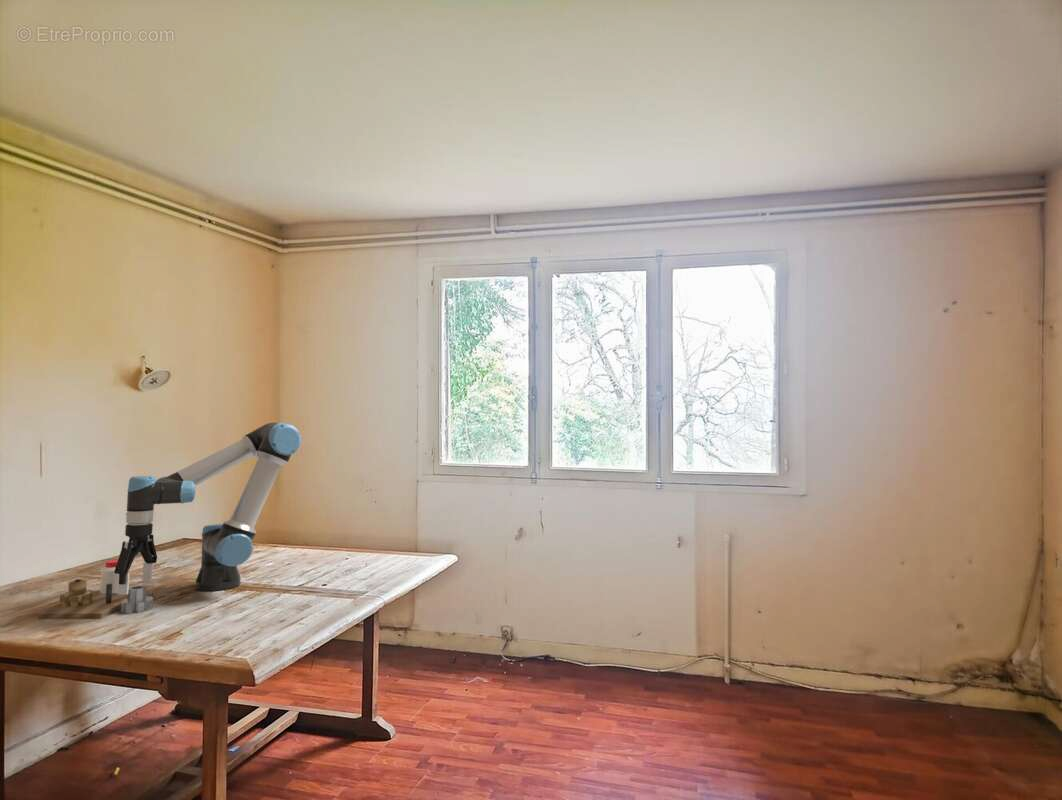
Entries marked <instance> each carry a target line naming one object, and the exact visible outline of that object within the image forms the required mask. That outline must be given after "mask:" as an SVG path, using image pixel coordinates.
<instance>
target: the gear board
mask: <svg viewBox="0 0 1062 800" xmlns="http://www.w3.org/2000/svg"><path fill="white" fill-rule="evenodd" d="M87 585H88V583H87V579H81V578H76V579H74V580H70V581H68V588H67V589H68V591H67V592H65V593H63V594H60V595H59V604H57V605H55V606H52V607H50V608H48V609H46V610H42V611H40V612H38V613H37V619H103V618H105V617H107V616H109V615H110V614H113V613H114V612H116V611H118V610H120V602H121V601H122V600H124V599H128V594H127V595H124V594H118V593H112V584H107V585H106V593H100V592H97V593H96V592H95V591H94V590H91V589H87Z"/></svg>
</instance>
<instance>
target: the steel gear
mask: <svg viewBox="0 0 1062 800" xmlns="http://www.w3.org/2000/svg"><path fill="white" fill-rule="evenodd" d="M153 599H154V597H152V596H148V595H147V586H146V585H136V586H135V585H134V586H129V590H128V599H124V600H122V601H121V602H120V609H119V612H120V613H121V614H122V613H125V614H133V613H137V614H138V613H142V612H145V611H149V610H152V608H153V604H154V603H153V602H154V601H153Z"/></svg>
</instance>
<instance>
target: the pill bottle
mask: <svg viewBox="0 0 1062 800" xmlns="http://www.w3.org/2000/svg"><path fill="white" fill-rule="evenodd" d="M118 559H119V558H118ZM118 559H110V560H106V561H105V562H104V566H103V567H102V568H101V570H100V584H99V585H100V588H99V591H100V592H99V593H106V585H107V584H112V593H118V586H119V574H115V572H114V571H115V568H116V565H117V562H118Z"/></svg>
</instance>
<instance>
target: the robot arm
mask: <svg viewBox="0 0 1062 800" xmlns="http://www.w3.org/2000/svg"><path fill="white" fill-rule="evenodd" d="M301 444H302V436H301V432H300V431H299V429H297V427H295V426H294V425H292V424H289V423H285V422H269V423H265V424H263V425H261V426H260V427H258V428H255V429H254V430H252V431H251V432H249V433H246V434H245V435H243V436H242V439H240V440H239V441H236V442H234V443H232V444H230V445H228V446H227V447H225V448H222V449H220V450H218V451H216V452H214V453H212V454H210V455H208V456H206V457H204V458H201V459H200V460H198V461H196V462H194V463H192V464H190V465H187V466H186V467H183V468H181V469H180V470H178V471H176V472H174V473H172V474H169V475H168V476H163V477H159V478H158V479H156V477H155V476H154V475H134V476H131V477H130V478H129V479H128V486H127V501H126V513H125V515H126V516H125V518H126V521H125V522H126V525H125V530H124V532H125V533H124V535H125V536H126V537H128V541H122V543H121V544H122V545H121V550H120V554H119V556H118V562H117V565H116V568H115V571H114V572H115V574H119V586H118V594H124V595H127V594H128V590H129V588H130V572H129V571H130V569H131V566H132V565H133V562H134V560H135V558H136V556H137V555H138V554H139V553H140V555H141V556H142V559H143V561H144V563H143V565H142V581H141V583H142V584H153V583H152V582H153V571H154V570H153V568H154V567H153V566H154V564H156V563H157V560H158V554H157V550H156V546H155V540H154V534H153V528H154V527H153V526H154V524H153V523H152V522H153V521H154V506H155V505H164V504H165V505H167V504H168V505H169V504H185V503H186V504H187V503H188V504H189V503H192V502H194V500H195V498H196V497H195V496H196V486H197V485H200V484H201V483H203V482H205V481H207V480H209V479H211V478H213V477H215V476H217V475H219V474H221V473H223V472H225V471H226V470H229V469H231V468H232V467H235V466H237V465H238V464H241V463H243V462H245V461H246V460H248V459H250V458H257V460H256V463H255V465H254V467H253V469H252V472H251V473H250V476H249V478H248V480H247V482H246V484H245V487H244V488H243V491H242V493H241V495H240V497H239V499H238V502H237V504H236V506H235V508H234V510H233V512H232V515H231V516H230V518H229V519H228V520H226V521H224V522H223V523H218V524H214V523H213V524H208V525H207V524H206V525H204V526H203V527H202V532H201V561H200V562H201V566H200V569H199V571H198V574H197V576H196V580H195V581H194V582H195V585H194V587H195V589H196V590H198V591H206V592H210V591H211V592H216V591H223V590H224V591H225V590H228V589H233V588H235V587H238V586H240V585H241V581H242V579H241V578H242V577H241V575H240V574H241V573H240V571H239V569H238V566H240V565H243V564H244V563H246V562H247V561H248V560H249V559H250V557H251V556H252V554H253V552H254V545H253V542H254V539H255V536H256V534H257V531H256V529H255V527H256V523H257V521H258V519H259V516H260V515H261V512H262V510H263V508H264V505H265V503H266V502H267V499H268V496H269V495H270V493H271V490H272V488H273V486H274V484H275V481H276V479H277V477H278V475H279V472H280V470H281V468H282V467H283V466H284V465H287V464H288V463H289V460H290V458H291V457H292V455H293V454H294V453H296V452H297V451H298V450H299V448H300V446H301Z"/></svg>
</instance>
